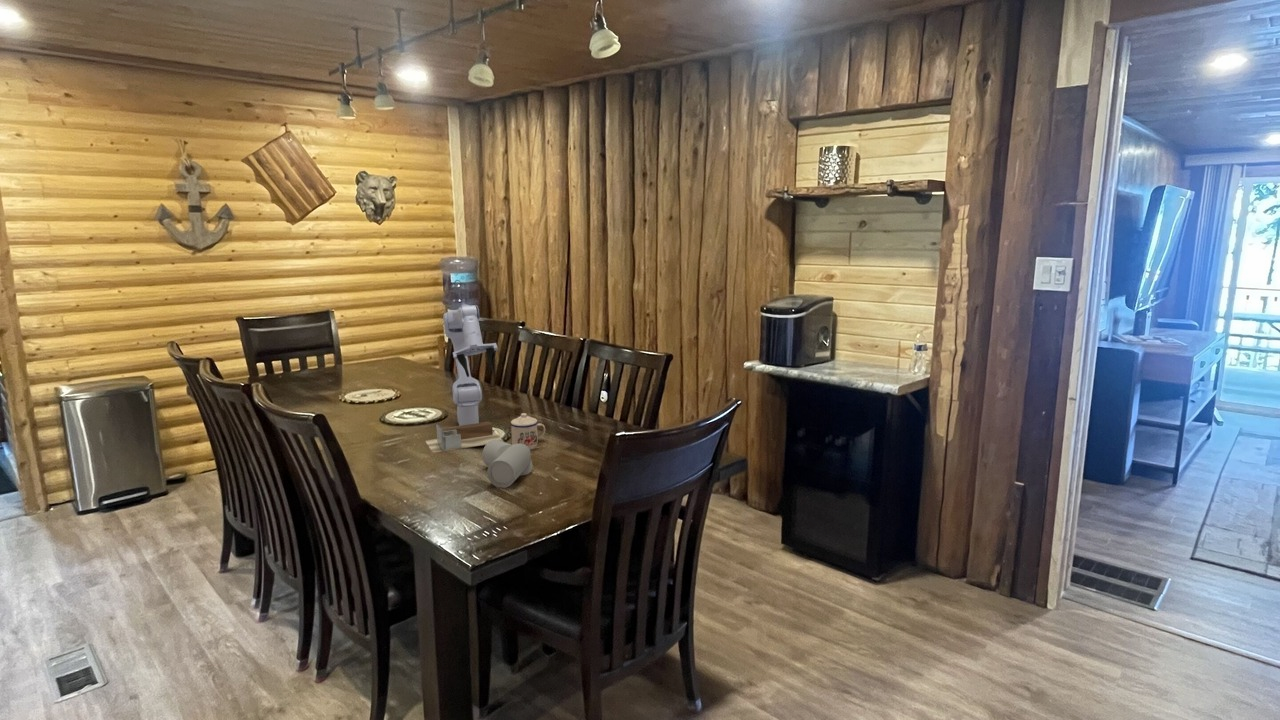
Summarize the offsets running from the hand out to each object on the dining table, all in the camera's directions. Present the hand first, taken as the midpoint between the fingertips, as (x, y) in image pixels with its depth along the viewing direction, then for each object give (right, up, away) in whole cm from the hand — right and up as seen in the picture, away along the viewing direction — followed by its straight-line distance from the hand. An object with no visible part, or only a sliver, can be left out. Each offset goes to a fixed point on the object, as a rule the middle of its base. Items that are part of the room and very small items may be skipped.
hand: (479, 373), depth 229 cm
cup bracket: (-11, -25, +5) cm, 28 cm away
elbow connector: (+12, -31, -19) cm, 38 cm away
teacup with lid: (+15, -25, +8) cm, 30 cm away
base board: (-8, -25, +10) cm, 28 cm away
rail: (-8, -23, +15) cm, 28 cm away
